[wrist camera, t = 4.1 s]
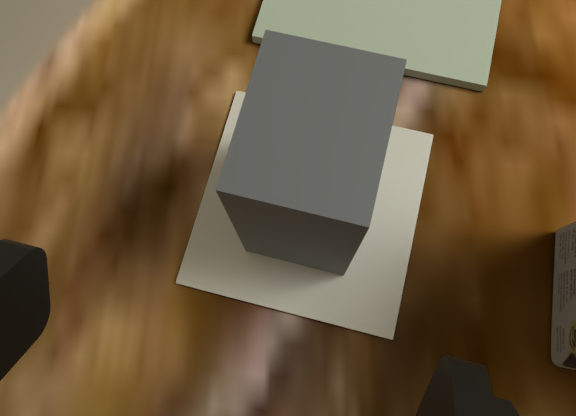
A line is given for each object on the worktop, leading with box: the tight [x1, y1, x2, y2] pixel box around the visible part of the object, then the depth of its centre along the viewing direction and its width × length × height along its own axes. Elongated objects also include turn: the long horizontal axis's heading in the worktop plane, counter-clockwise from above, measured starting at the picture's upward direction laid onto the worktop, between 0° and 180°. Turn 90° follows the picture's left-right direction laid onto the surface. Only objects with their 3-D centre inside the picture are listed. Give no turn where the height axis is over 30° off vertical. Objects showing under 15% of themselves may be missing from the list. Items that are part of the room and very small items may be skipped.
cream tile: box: [176, 91, 433, 340], centre depth 25 cm, size 10×10×1 cm
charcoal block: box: [216, 30, 407, 276], centre depth 20 cm, size 5×6×9 cm
